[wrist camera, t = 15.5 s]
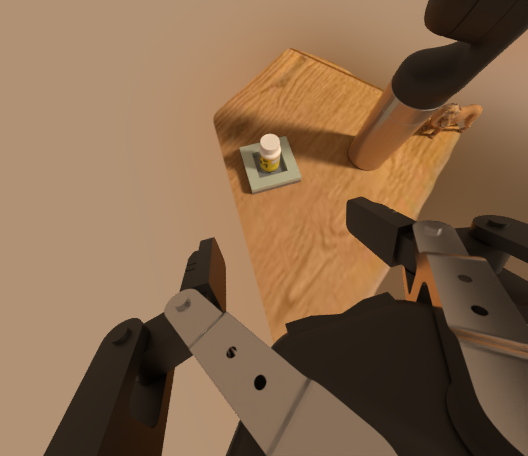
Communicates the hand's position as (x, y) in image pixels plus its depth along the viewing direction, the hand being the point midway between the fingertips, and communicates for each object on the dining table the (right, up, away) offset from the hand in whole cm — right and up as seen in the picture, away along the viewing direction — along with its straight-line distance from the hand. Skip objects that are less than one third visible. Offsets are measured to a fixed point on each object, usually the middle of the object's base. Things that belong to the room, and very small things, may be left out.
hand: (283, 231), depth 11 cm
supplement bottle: (0, +15, +35) cm, 38 cm away
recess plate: (0, +15, +36) cm, 39 cm away
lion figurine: (+44, +25, +38) cm, 64 cm away
